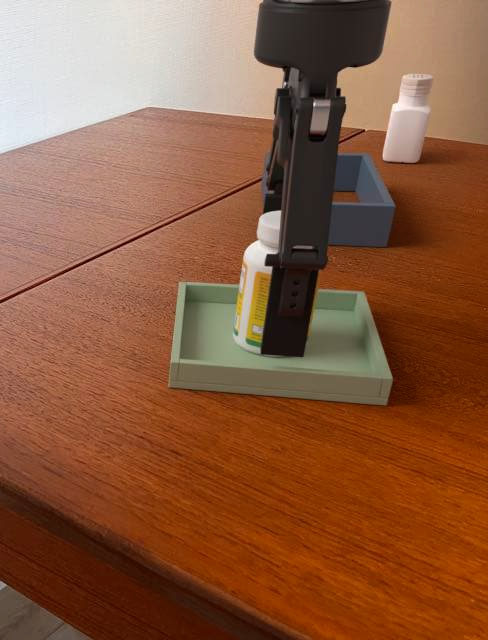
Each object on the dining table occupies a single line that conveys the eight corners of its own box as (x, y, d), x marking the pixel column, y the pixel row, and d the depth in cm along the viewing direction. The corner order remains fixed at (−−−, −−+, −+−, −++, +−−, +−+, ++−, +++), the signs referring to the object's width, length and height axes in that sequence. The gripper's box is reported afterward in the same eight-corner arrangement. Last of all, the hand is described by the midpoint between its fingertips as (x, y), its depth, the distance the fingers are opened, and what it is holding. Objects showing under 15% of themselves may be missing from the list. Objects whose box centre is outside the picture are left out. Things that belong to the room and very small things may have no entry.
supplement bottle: (217, 334, 66) (232, 214, 61) (275, 321, 67) (294, 202, 62) (263, 365, 62) (282, 237, 57) (324, 349, 63) (348, 224, 58)
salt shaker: (418, 155, 104) (437, 73, 99) (418, 164, 101) (438, 80, 96) (382, 153, 106) (399, 72, 101) (381, 162, 103) (398, 79, 98)
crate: (362, 189, 95) (369, 153, 93) (386, 247, 80) (396, 206, 78) (260, 187, 97) (265, 151, 95) (267, 242, 83) (273, 202, 81)
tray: (359, 315, 69) (364, 291, 68) (386, 406, 57) (393, 378, 56) (177, 304, 72) (179, 281, 71) (168, 387, 61) (170, 361, 60)
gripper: (254, -27, 63) (223, 247, 74) (268, 25, 43) (223, 391, 54) (365, -31, 61) (316, 250, 72) (434, 21, 41) (352, 401, 52)
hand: (276, 311), depth 63 cm, fingers open, 13 cm apart
